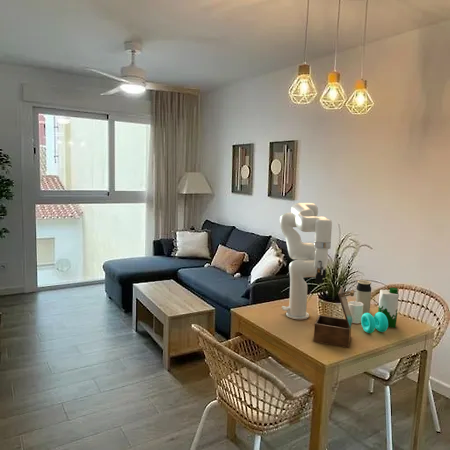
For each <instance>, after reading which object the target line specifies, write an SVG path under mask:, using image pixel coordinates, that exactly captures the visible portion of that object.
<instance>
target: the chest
mask: <svg viewBox="0 0 450 450" xmlns="http://www.w3.org/2000/svg"><path fill="white" fill-rule="evenodd" d="M352 324H353V323H351V325H352ZM313 329H314V331H313V342H315V343H320V344H325V345H331V346H337V347H343V348H349V346H350V343H351V338H352V326H351V327H350V328H348V325H347V322H346V318H342V317H341V318H340V317H334V316H327V315H322V314H318V316H317V318H316V321H315V322H314V327H313Z"/></svg>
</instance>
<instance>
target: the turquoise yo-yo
mask: <svg viewBox="0 0 450 450" xmlns="http://www.w3.org/2000/svg"><path fill="white" fill-rule="evenodd" d="M360 324H361V328H362V329H363V331H364V332H365V333H367V334H372V333H374V332H375V330H377V332H379V333H385V332H386V331H387V330H388V328H389V327H388V320H387V317H386V316H385V314H384V313H382V312H378V311H377V312H375V313H374V315H372V314H371V312H370V313H364V314H362V318H361V323H360Z"/></svg>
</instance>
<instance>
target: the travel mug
mask: <svg viewBox="0 0 450 450" xmlns="http://www.w3.org/2000/svg"><path fill="white" fill-rule="evenodd" d="M371 284H372V282H371V280H366V279H359V280H357V285H356V290H355V301H357V302H361V303H363V304H364V305H363V313H362V315H363V314H364V313H370V314H371V301H372V300H371V298H372V286H371Z"/></svg>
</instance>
